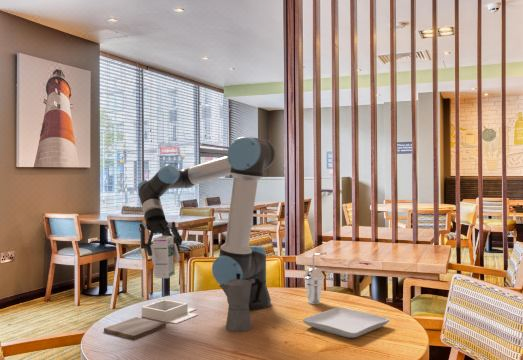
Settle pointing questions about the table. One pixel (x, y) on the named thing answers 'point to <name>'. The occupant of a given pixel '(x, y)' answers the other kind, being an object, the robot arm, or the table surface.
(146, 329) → the walnut board
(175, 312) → the open carton
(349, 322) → the salad plate
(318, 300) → the cup with straw
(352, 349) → the table surface
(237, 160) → the robot arm
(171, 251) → the syrup box
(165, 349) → the table surface
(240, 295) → the coffeepot
